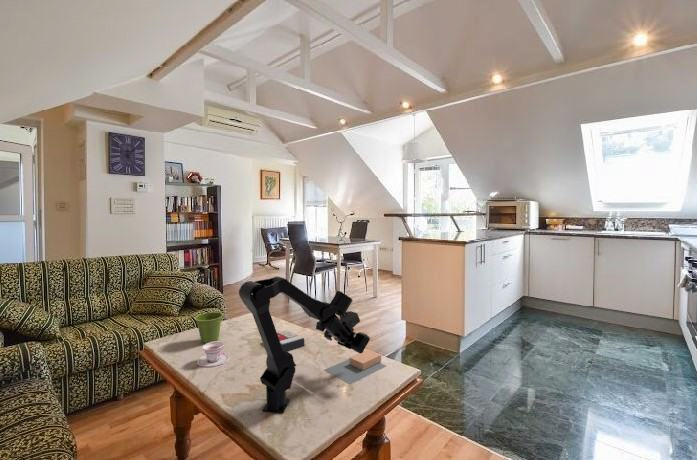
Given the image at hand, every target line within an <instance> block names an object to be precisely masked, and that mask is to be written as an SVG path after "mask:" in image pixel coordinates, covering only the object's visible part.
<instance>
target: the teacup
mask: <svg viewBox="0 0 697 460" xmlns="http://www.w3.org/2000/svg"><path fill="white" fill-rule="evenodd" d="M224 346H225V342H224V341H222V340H217V341H214V342H210V343H204V345H203V346H201V347H202V349H203V351H204V352H205V355H203V356H201V357H200V358H199V357H198V359H197V361H196V364H197V366H200V367H201V368H213V367H218V366H220V365H223V364H225V363H227V362H228V361H229V360H230V359H231V356H230V354H228V353H225V352H222V350H223V349H224ZM208 361H209V362H208Z"/></svg>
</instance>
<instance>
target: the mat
mask: <svg viewBox="0 0 697 460" xmlns="http://www.w3.org/2000/svg"><path fill="white" fill-rule="evenodd" d="M386 367H387V365H385V364H383V363H381V362H380V363H378V364H376V365H374V366H371V367H369V368H367V369H365V370H361V369H358V368H356V367H354V366H352V365H350V364H349V358H348V359H345V360H343V361H341V362H339V363H337V364H334V365H332V366H329V367H327V368H325V369H324V371H325V372H327V373H329V374H331V375H332V376H333V377H336V378H338V379H340V380H342V381H343V382H345V383H347V384H349V385H352V384H354V383H356V382H358V381H360V380H362V379H364V378H366V377H368V376H370V375H372V374H374V373H376V372H378V371H380V370H382V369H384V368H386Z"/></svg>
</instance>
